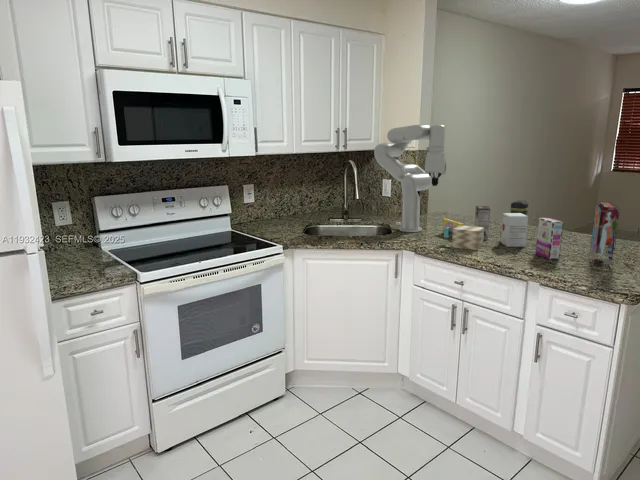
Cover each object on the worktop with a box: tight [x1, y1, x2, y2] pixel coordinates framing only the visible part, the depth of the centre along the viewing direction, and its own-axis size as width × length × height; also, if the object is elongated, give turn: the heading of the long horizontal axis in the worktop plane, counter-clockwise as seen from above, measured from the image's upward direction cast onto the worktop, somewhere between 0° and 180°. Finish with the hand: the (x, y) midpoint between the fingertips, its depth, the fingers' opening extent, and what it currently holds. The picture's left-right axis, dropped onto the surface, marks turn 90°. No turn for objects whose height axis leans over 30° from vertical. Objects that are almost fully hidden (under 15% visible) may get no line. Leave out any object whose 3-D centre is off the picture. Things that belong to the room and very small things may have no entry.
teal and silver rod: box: [443, 227, 484, 239], centre depth 218 cm, size 18×4×4 cm, turn 57°
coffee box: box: [474, 205, 491, 241], centre depth 234 cm, size 9×6×16 cm
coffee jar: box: [509, 199, 529, 216], centre depth 237 cm, size 10×8×19 cm
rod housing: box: [451, 225, 484, 251], centre depth 217 cm, size 12×10×9 cm
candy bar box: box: [535, 217, 564, 260], centre depth 197 cm, size 11×5×16 cm, turn 5°
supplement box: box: [500, 212, 529, 248], centre depth 218 cm, size 9×9×15 cm
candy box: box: [442, 218, 465, 237], centre depth 240 cm, size 16×2×8 cm, turn 19°
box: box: [589, 201, 620, 270], centre depth 188 cm, size 25×6×24 cm, turn 156°
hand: (434, 185), depth 235 cm, fingers closed
